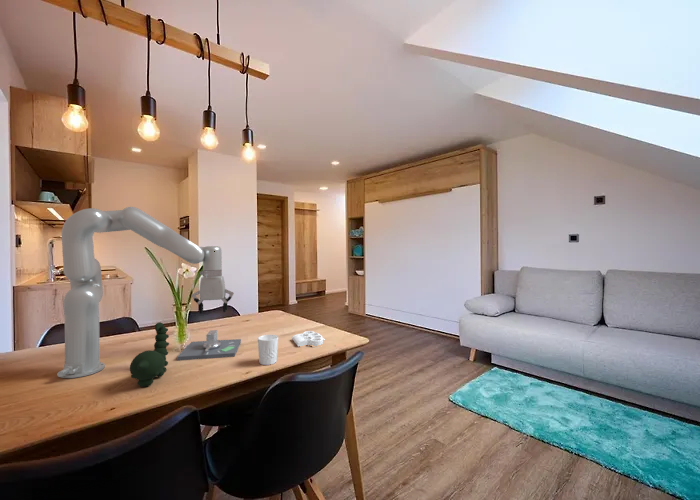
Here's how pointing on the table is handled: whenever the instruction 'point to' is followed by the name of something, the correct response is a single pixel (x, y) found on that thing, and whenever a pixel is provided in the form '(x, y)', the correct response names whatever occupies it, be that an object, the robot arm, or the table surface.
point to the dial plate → (197, 351)
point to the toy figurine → (151, 359)
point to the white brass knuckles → (308, 338)
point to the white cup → (267, 349)
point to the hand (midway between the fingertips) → (213, 312)
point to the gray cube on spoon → (211, 341)
